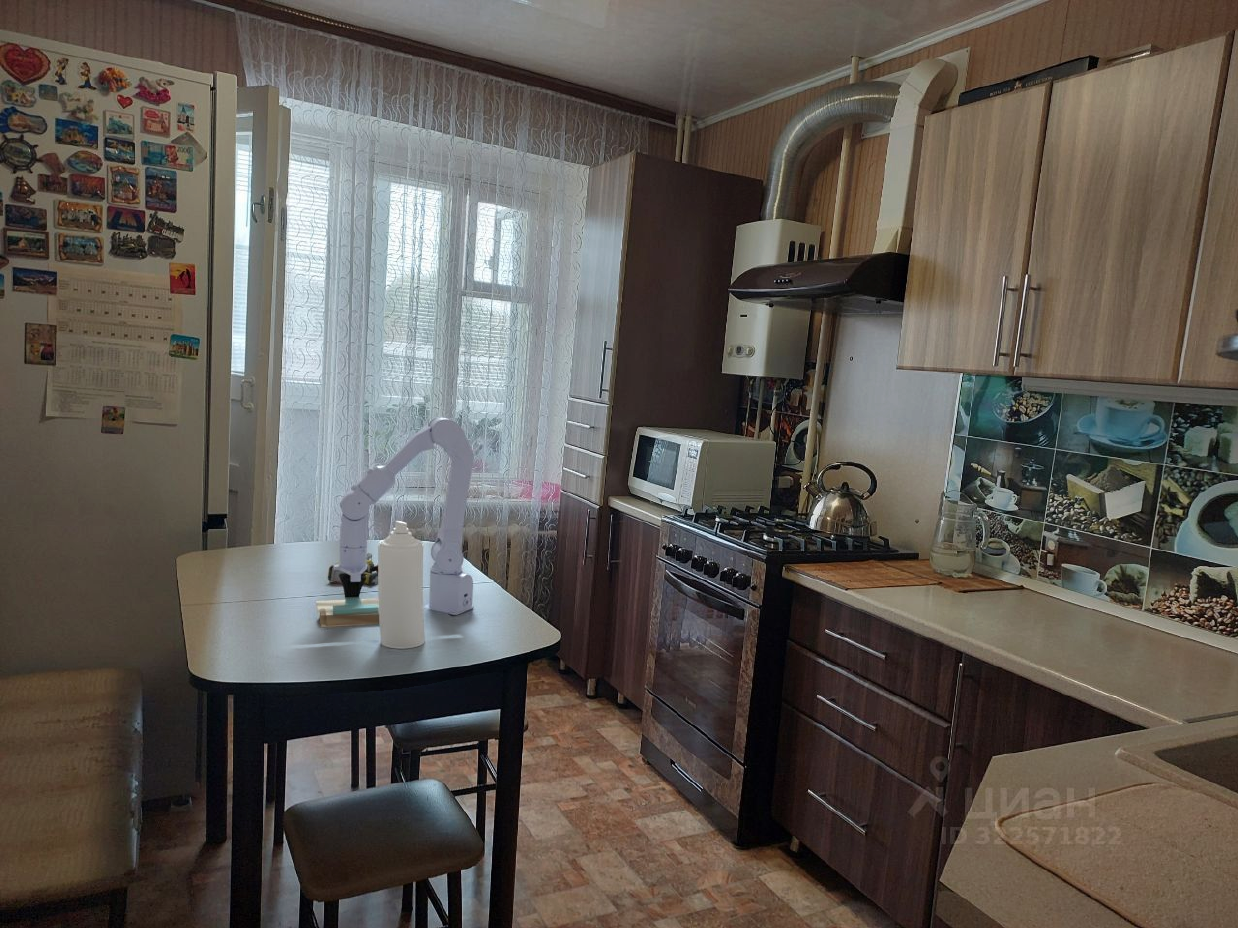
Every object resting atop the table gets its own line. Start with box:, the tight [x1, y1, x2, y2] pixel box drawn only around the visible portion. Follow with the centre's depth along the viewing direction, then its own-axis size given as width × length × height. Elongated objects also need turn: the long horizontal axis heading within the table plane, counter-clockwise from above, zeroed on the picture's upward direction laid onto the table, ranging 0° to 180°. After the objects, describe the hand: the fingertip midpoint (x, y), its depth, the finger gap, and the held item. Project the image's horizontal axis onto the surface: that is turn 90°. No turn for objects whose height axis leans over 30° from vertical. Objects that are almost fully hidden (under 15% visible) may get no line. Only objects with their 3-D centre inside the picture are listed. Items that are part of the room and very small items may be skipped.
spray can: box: [377, 520, 426, 650], centre depth 161 cm, size 12×11×25 cm
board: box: [315, 597, 380, 628], centre depth 180 cm, size 20×14×3 cm
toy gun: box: [327, 552, 378, 587], centre depth 214 cm, size 5×24×15 cm
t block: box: [333, 596, 379, 615], centre depth 176 cm, size 9×9×3 cm
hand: (351, 605), depth 181 cm, fingers closed
